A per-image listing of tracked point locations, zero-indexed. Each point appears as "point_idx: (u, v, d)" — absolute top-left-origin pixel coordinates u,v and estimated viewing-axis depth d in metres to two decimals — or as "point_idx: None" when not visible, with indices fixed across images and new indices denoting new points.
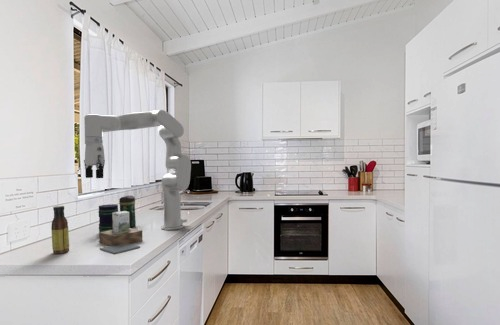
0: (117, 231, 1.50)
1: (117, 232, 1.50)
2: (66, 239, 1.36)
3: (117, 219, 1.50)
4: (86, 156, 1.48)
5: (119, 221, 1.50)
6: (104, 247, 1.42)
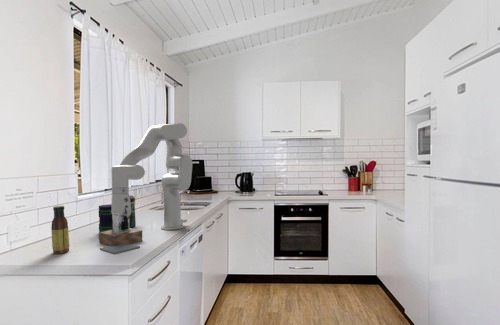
0: (117, 231, 1.50)
1: (117, 232, 1.50)
2: (66, 239, 1.36)
3: (117, 219, 1.50)
4: (113, 206, 1.53)
5: (119, 221, 1.50)
6: (104, 247, 1.42)
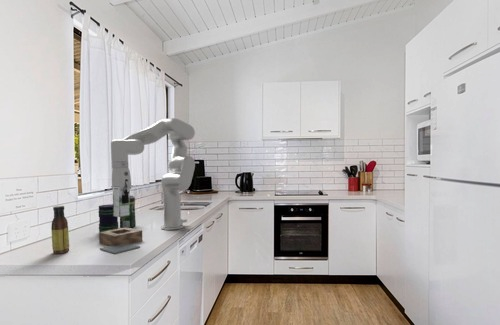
0: (118, 204, 1.51)
1: (118, 206, 1.51)
2: (66, 239, 1.36)
3: (117, 193, 1.51)
4: (113, 180, 1.53)
5: (119, 195, 1.50)
6: (104, 247, 1.42)
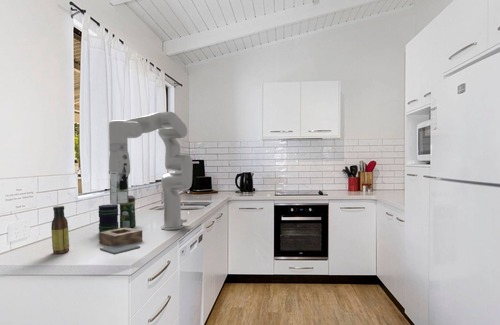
0: (115, 190, 1.38)
1: (115, 192, 1.38)
2: (66, 239, 1.36)
3: (114, 178, 1.38)
4: (110, 165, 1.41)
5: (117, 180, 1.38)
6: (104, 247, 1.42)
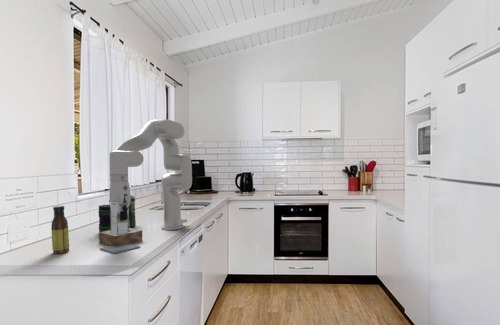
0: (115, 221, 1.38)
1: (115, 223, 1.38)
2: (66, 239, 1.36)
3: (115, 209, 1.38)
4: (111, 195, 1.41)
5: (117, 211, 1.38)
6: (104, 247, 1.42)
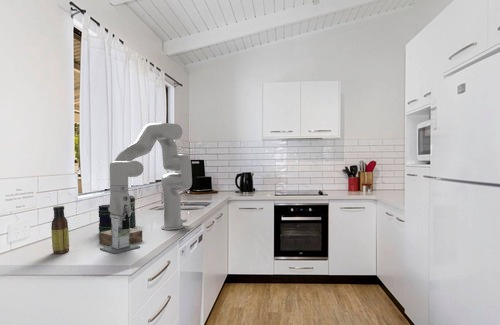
0: (117, 235, 1.38)
1: (117, 237, 1.38)
2: (66, 239, 1.36)
3: (116, 223, 1.38)
4: (111, 205, 1.41)
5: (118, 225, 1.38)
6: (104, 247, 1.42)
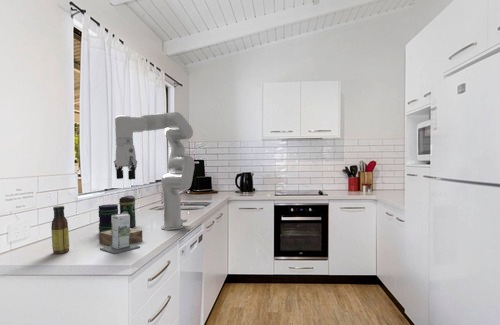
0: (117, 235, 1.38)
1: (117, 237, 1.38)
2: (66, 239, 1.36)
3: (116, 223, 1.38)
4: (117, 158, 1.49)
5: (119, 224, 1.38)
6: (104, 247, 1.42)
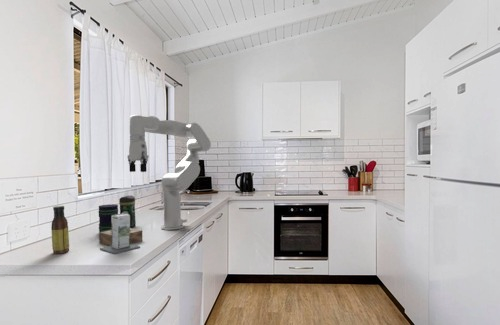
0: (117, 235, 1.38)
1: (117, 237, 1.38)
2: (66, 239, 1.36)
3: (116, 223, 1.38)
4: (130, 153, 1.67)
5: (119, 224, 1.38)
6: (104, 247, 1.42)
